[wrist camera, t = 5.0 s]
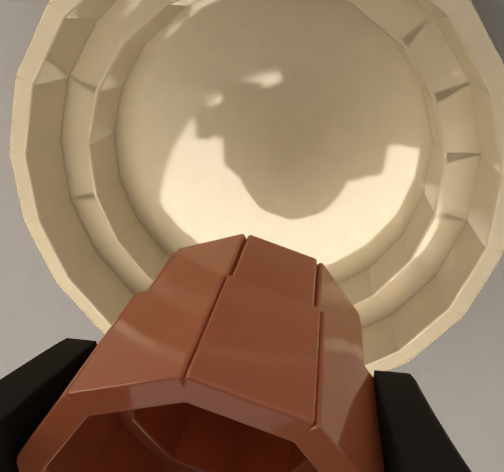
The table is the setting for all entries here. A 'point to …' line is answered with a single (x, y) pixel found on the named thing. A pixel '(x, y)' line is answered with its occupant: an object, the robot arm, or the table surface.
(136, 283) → the cream bowl
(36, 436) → the terracotta pot
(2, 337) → the table surface
